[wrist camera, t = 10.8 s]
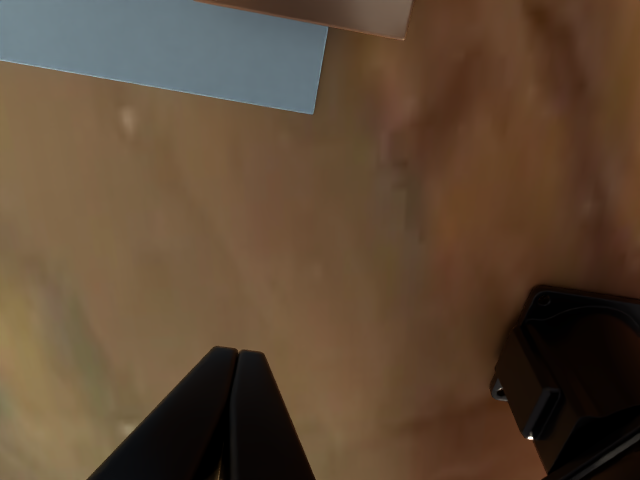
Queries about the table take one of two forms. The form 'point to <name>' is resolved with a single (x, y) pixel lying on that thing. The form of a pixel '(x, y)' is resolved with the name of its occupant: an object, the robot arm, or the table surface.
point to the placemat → (171, 47)
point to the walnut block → (335, 13)
